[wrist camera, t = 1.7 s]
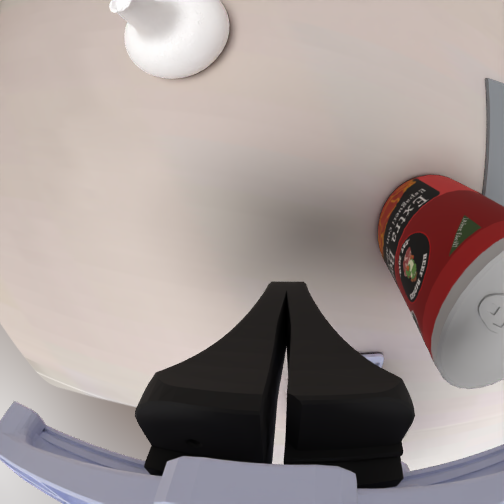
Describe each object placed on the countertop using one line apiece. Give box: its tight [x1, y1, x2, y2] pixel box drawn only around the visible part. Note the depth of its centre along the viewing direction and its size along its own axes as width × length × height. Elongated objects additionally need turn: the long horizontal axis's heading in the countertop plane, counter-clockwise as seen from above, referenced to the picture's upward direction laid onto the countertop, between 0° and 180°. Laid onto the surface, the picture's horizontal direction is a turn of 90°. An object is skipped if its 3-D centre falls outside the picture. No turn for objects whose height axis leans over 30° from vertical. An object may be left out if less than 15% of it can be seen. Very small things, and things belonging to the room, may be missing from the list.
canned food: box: [378, 175, 504, 389], centre depth 13 cm, size 8×8×11 cm
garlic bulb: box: [109, 0, 230, 79], centre depth 12 cm, size 6×6×8 cm
